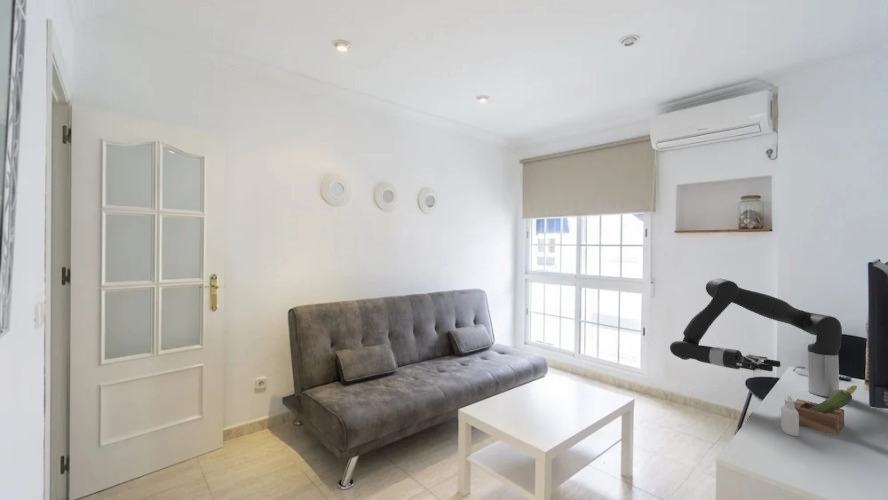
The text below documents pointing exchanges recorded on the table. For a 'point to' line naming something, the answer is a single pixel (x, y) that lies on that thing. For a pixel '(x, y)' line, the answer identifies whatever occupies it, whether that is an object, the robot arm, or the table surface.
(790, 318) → the robot arm
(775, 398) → the table surface
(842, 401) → the vegetable
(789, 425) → the eye dropper bottle
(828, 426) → the socket
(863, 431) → the table surface
